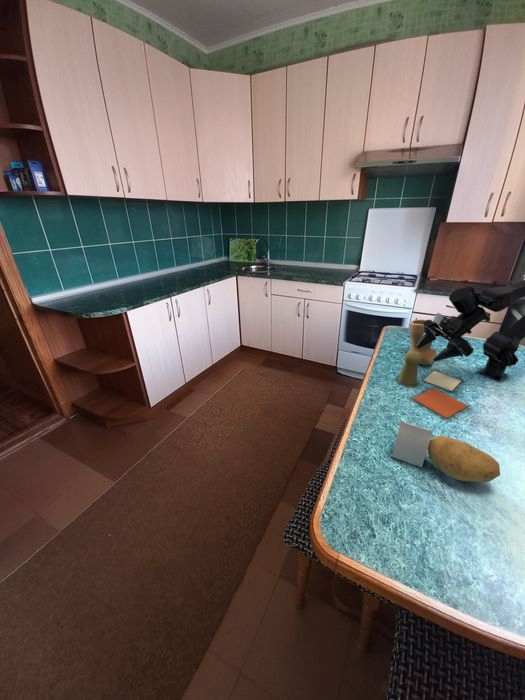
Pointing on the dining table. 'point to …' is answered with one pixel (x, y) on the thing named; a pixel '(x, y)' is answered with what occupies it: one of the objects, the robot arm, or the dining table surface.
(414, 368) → the cork
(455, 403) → the terracotta mat
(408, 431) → the grey rectangular block
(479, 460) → the potato
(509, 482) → the dining table surface
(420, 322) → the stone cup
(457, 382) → the cream mat
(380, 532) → the dining table surface
